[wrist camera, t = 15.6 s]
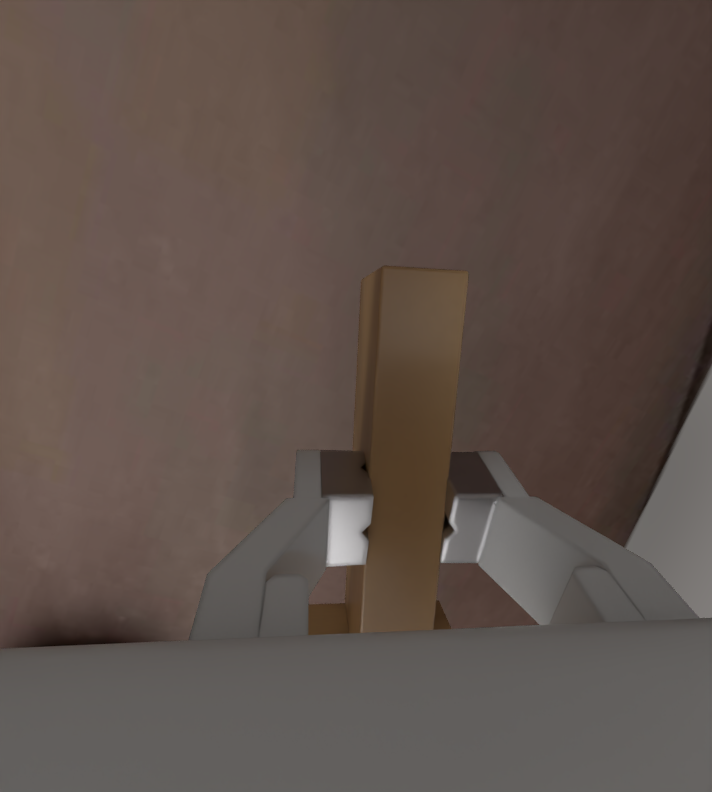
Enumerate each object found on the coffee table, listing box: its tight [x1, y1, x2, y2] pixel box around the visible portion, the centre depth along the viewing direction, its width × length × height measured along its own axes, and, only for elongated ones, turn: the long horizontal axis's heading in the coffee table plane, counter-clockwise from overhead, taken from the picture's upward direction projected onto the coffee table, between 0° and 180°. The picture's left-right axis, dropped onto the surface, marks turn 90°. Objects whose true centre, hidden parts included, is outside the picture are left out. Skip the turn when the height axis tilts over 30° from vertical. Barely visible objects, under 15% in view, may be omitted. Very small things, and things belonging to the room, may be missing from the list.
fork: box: [308, 266, 469, 635], centre depth 10 cm, size 4×18×3 cm, turn 176°
